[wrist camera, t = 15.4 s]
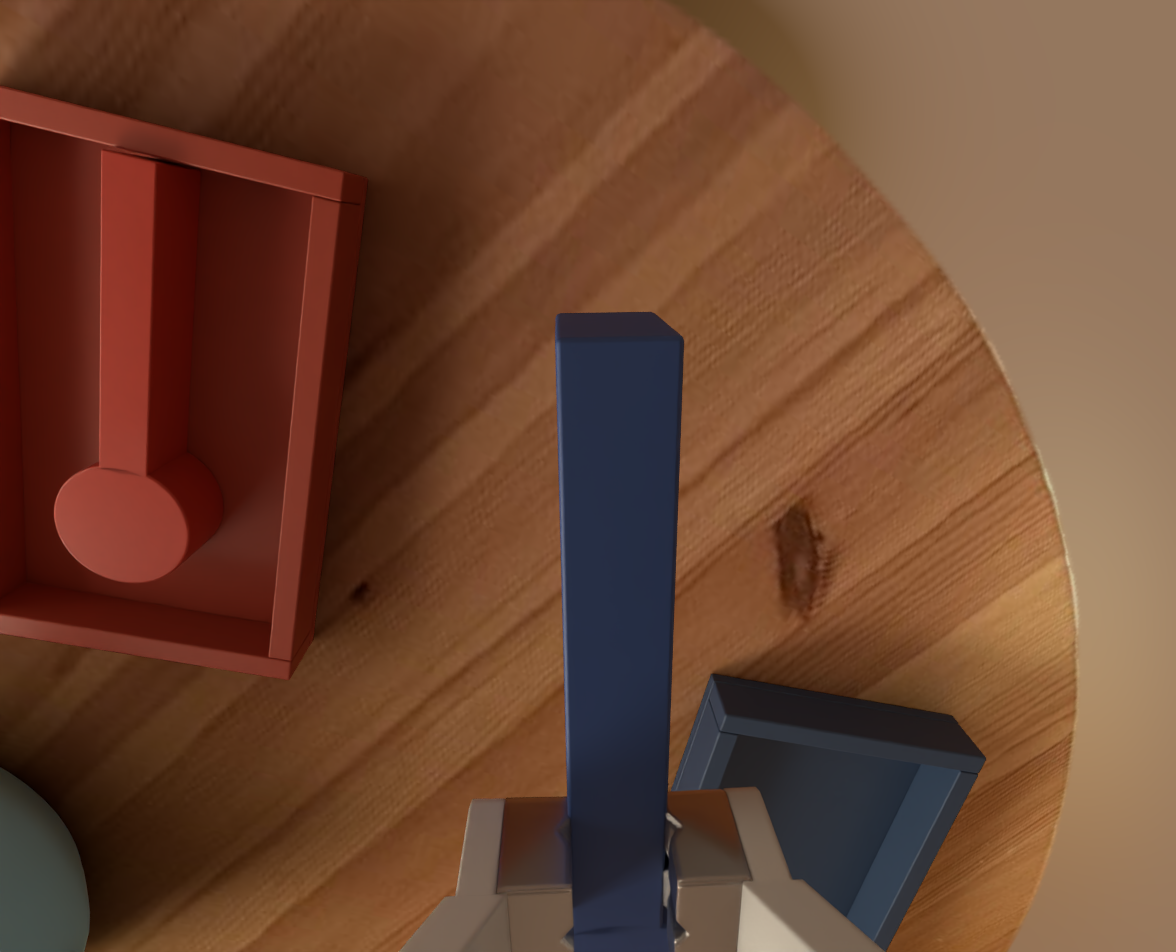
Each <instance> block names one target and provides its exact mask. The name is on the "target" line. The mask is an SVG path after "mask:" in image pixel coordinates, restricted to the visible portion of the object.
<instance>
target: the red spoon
mask: <svg viewBox="0 0 1176 952" xmlns="http://www.w3.org/2000/svg"><path fill="white" fill-rule="evenodd" d="M200 179H201V171H200V170H199V169H195V168H191V167H187V166H183V165H179V164H175V163H171V162H167V161H163V160H159V159H155V158H150V157H145V156H140V155H134V154H129V153H123V152H118V151H112V150H107V149H102V150H101V258H100V407H99V461H98V462H96V463H94V464H92V465H90V466H88V467H86V468H84V469H82V470H81V471H79V472H77V473H75V474H74V475H73V476H71V477H70V478H69V479H68V480H67V481H66V482H65V483H64V484H63V486H62V487H61V489H60V491H59V493H58V495H57V498H56V501H55V505H54V520H55V525H56V529H57V532H58V534H59V537H60V539H61V540H62V542H63V544H64V545H65V547H66V548H67V550H68V551H69V552H70V553H71V554H72V556H73V557H74V558H75V559H76V560H78V561H79V562H80V563H81V564H82V565H84V566H85V567H86V568H88V569H89V570H91V571H93V572H94V573H96V574H98V575H100V576H103V577H105V578H108V579H111V580H114V581H119V582H125V583H145V582H150V581H155V580H158V579H160V578H163V577H165V576H167V575H169V574H170V573H172V572H173V571H174V570H176V569H177V568H178V567H179V566H180V565H181V564H182V563H183V562H185V561H186V560H187V559H188V558H189V557H190V556H191V555H192V554H194V553H195V552H196V551H197V550H198V549H199V548H200V547H201V546H203V545H204V544H205V543H206V542H207V541H208V540H209V539H210V538H211V537H212V536H213V535H214V534H215V532H216V531H217V530H218V528H219V526H220V523H221V520H222V517H223V497H222V493H221V490H220V487H219V485H218V483H217V481H216V479H215V477H214V476H213V474H212V473H211V472H210V470H209V469H208V468H207V467H206V466H205V465H204V464H203V463H202V462H201V461H199V460H198V459H197V458H196V457H194V456H193V455H191V454H190V453H188V452H187V438H188V418H189V398H190V378H191V358H192V338H193V318H194V299H195V279H196V259H197V239H198V219H199V199H200Z"/></svg>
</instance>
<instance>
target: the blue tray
mask: <svg viewBox="0 0 1176 952" xmlns="http://www.w3.org/2000/svg"><path fill="white" fill-rule="evenodd" d="M985 761H986V757H985V756H984V755H983V753H982V752H981V751H980V750H979V748H978V747H977V746H976V745H975V744H974V742H973V741H972V740H971V739H970V737H969V736H968V735H967V734H966V733H965V731H964V730H963V729H962V728H961V727H960V725H958V722H957V721H956V720H955V719H954V717H953V716H951V715H946V714H940V713H934V712H929V711H923V710H917V709H911V708H906V707H900V706H894V705H889V704H883V703H877V702H871V701H866V700H860V699H854V698H848V697H843V696H837V695H831V694H826V693H820V692H814V691H808V690H803V689H797V688H791V687H785V686H780V685H774V684H768V683H762V682H757V681H751V680H745V679H740V678H734V677H728V676H722V675H717V674H711V676H710V679H709V682H708V685H707V688H706V690H705V693H704V696H703V699H702V702H701V705H700V708H699V711H698V714H697V717H696V720H695V722H694V725H693V728H692V731H691V734H690V737H689V740H688V743H687V746H686V749H685V751H684V754H683V757H682V760H681V763H680V766H679V769H678V772H677V775H676V778H675V780H674V783H673V786H672V789H671V791H687V790H705V789H722V790H723V789H724V788H740V787H756V788H757V789H758V790H759V791H760V793H761V796H762V798H763V801H764V804H765V806H766V809H767V812H768V815H769V817H770V820H771V823H772V825H773V828H774V831H775V834H776V836H777V839H778V842H779V845H780V847H781V850H782V853H783V855H784V858H785V861H786V864H787V866H788V869H789V872H790V874H791V877H792V880H794V879H803V880H804V881H805V882H806V883H807V884H808V885H810V886H811V887H812V888H813V889H814V890H815V891H816V892H818V893H819V894H820V895H821V896H822V897H823V898H824V899H826V900H827V901H828V902H829V903H830V904H831V905H832V906H834V907H835V908H836V909H837V910H838V911H839V912H840V913H841V914H843V915H844V916H845V917H846V918H847V919H848V920H849V921H851V922H852V923H853V924H854V925H855V926H856V927H857V928H859V929H860V930H861V931H862V932H863V933H864V934H865V935H867V936H868V937H869V938H870V939H871V940H872V941H873V942H875V943H876V944H877V945H878V946H879V947H880V948H881V949H883V950H884V951H885V952H886V950H887V948H888V946H889V945H890V943H891V941H892V939H893V937H894V935H895V933H896V931H897V929H898V927H899V925H900V924H901V922H902V920H903V918H904V916H905V914H906V912H907V910H908V908H909V906H910V904H911V903H912V901H913V899H914V897H915V895H916V893H917V891H918V889H919V887H920V885H921V883H922V882H923V880H924V878H925V876H926V874H927V872H928V870H929V868H930V866H931V864H932V862H933V861H934V859H935V857H936V855H937V853H938V851H939V849H940V847H941V845H942V843H943V841H944V840H945V838H946V836H947V834H948V832H949V830H950V828H951V826H952V824H953V822H954V820H955V819H956V817H957V815H958V813H959V811H960V809H961V807H962V805H963V803H964V801H965V799H966V798H967V796H968V794H969V792H970V790H971V788H972V786H973V784H974V782H975V780H976V778H977V777H978V774H977V773H979V772H980V770H981V768H982V766H983V764H984V763H985Z"/></svg>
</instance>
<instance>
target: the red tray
mask: <svg viewBox="0 0 1176 952" xmlns="http://www.w3.org/2000/svg"><path fill="white" fill-rule="evenodd" d="M102 149H107V150H112V151H118V152H123V153H129V154H134V155H140V156H145V157H150V158H155V159H159V160H163V161H167V162H171V163H175V164H179V165H183V166H187V167H191V168H195V169H199V170H200V171H201V179H200V199H199V219H198V239H197V259H196V279H195V299H194V318H193V338H192V358H191V378H190V398H189V418H188V438H187V452H188V453H190V454H191V455H193V456H194V457H196V458H197V459H198V460H199V461H201V462H202V463H203V464H204V465H205V466H206V467H207V468H208V469H209V470H210V472H211V473H212V474H213V476H214V477H215V479H216V481H217V483H218V485H219V487H220V490H221V493H222V497H223V517H222V520H221V523H220V526H219V528H218V530H217V531H216V532H215V534H214V535H213V536H212V537H211V538H210V539H209V540H208V541H207V542H206V543H205V544H204V545H203V546H201V547H200V548H199V549H198V550H197V551H196V552H195V553H194V554H192V555H191V556H190V557H189V558H188V559H187V560H186V561H185V562H183V563H182V564H181V565H180V566H179V567H178V568H177V569H176V570H174V571H173V572H172V573H170V574H169V575H167V576H165V577H163V578H160V579H158V580H155V581H150V582H145V583H125V582H119V581H114V580H111V579H108V578H105V577H103V576H100V575H98V574H96V573H94V572H93V571H91V570H89V569H88V568H86V567H85V566H84V565H82V564H81V563H80V562H79V561H78V560H76V559H75V558H74V557H73V556H72V554H71V553H70V552H69V551H68V550H67V548H66V547H65V545H64V544H63V542H62V540H61V539H60V537H59V534H58V532H57V529H56V525H55V520H54V505H55V501H56V498H57V495H58V493H59V491H60V489H61V487H62V486H63V484H64V483H65V482H66V481H67V480H68V479H69V478H70V477H71V476H73V475H74V474H75V473H77V472H79V471H81V470H82V469H84V468H86V467H88V466H90V465H92V464H94V463H96V462H98V461H99V407H100V258H101V150H102ZM367 185H368V178H366V177H363V176H359V175H356V174H352V173H349V172H346V171H342V170H338V169H334V168H330V167H326V166H322V165H318V164H314V163H310V162H306V161H302V160H298V159H294V158H290V157H286V156H282V155H278V154H274V153H270V152H266V151H262V150H258V149H254V148H250V147H246V146H242V145H238V144H234V143H230V142H226V141H222V140H218V139H214V138H210V137H206V136H202V135H198V134H194V133H190V132H186V131H182V130H178V129H174V128H170V127H166V126H162V125H158V124H154V123H150V122H146V121H142V120H138V119H134V118H130V117H126V116H122V115H118V114H114V113H110V112H105V111H101V110H97V109H93V108H89V107H85V106H81V105H77V104H73V103H69V102H65V101H61V100H57V99H53V98H49V97H45V96H41V95H37V94H33V93H29V92H25V91H21V90H17V89H13V88H9V87H5V86H1V85H0V634H6V635H12V636H18V637H24V638H30V639H37V640H43V641H49V642H55V643H61V644H68V645H74V646H80V647H86V648H93V649H99V650H105V651H111V652H117V653H124V654H130V655H136V656H142V657H148V658H155V659H161V660H167V661H173V662H179V663H186V664H192V665H198V666H204V667H211V668H217V669H223V670H229V671H235V672H242V673H248V674H254V675H260V676H266V677H273V678H279V679H285V680H289V679H290V678H291V676H292V675H293V673H294V671H295V670H296V668H297V666H298V665H299V663H300V661H301V660H302V658H303V656H304V655H305V653H306V651H307V649H308V648H309V646H310V645H311V643H312V641H313V638H314V629H315V621H316V612H317V604H318V596H319V587H320V579H321V570H322V562H323V554H324V545H325V537H326V529H327V520H328V512H329V503H330V495H331V487H332V478H333V470H334V461H335V453H336V445H337V436H338V428H339V420H340V411H341V403H342V394H343V386H344V378H345V369H346V361H347V352H348V344H349V336H350V327H351V319H352V311H353V302H354V294H355V285H356V277H357V269H358V260H359V252H360V243H361V235H362V227H363V218H364V210H365V201H366V193H367Z"/></svg>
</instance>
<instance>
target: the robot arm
mask: <svg viewBox="0 0 1176 952" xmlns="http://www.w3.org/2000/svg"><path fill="white" fill-rule="evenodd" d="M663 848H664V850H665V867H664V870H663V884H662V904H663V905H664V906H665V907H666V909H667V938H668V944H669V951H670V952H885V951H884V950H883V949H881V948H880V947H879V946H878V945H877V944H876V943H875V942H873V941H872V940H871V939H870V938H869V937H868V936H867V935H865V934H864V933H863V932H862V931H861V930H860V929H859V928H857V927H856V926H855V925H854V924H853V923H852V922H851V921H849V920H848V919H847V918H846V917H845V916H844V915H843V914H841V913H840V912H839V911H838V910H837V909H836V908H835V907H834V906H832V905H831V904H830V903H829V902H828V901H827V900H826V899H824V898H823V897H822V896H821V895H820V894H819V893H818V892H816V891H815V890H814V889H813V888H812V887H811V886H810V885H808V884H807V883H806V882H805V881H804V880H803V879H794V880H792V877H791V874H790V872H789V869H788V866H787V864H786V861H785V858H784V855H783V853H782V850H781V847H780V845H779V842H778V839H777V836H776V834H775V831H774V828H773V825H772V823H771V820H770V817H769V815H768V812H767V809H766V806H765V804H764V801H763V798H762V796H761V793H760V791H759V790H758V789H757V788H756V787H740V788H724V789H723V790H722V789H705V790H687V791H669V792H668V794H667V811H666V813H665V822H664V847H663ZM399 952H574V911H573V877H572V844H571V818H570V817H569V816H568V804H567V797H516V798H506V799H472V802H471V804H470V807H469V811H468V818H467V824H466V831H465V837H464V843H463V850H462V856H461V863H460V869H459V876H458V882H457V889H456V895H455V896H449V897H445V898H444V899H443V900H442V901H441V902H440V903H439V905H438V906H437V907H436V908H435V909H434V911H433V912H432V913H431V914H430V915H429V917H428V918H427V919H426V920H425V921H424V922H423V924H422V925H421V926H420V927H419V928H418V930H417V931H416V932H415V933H414V934H413V935H412V937H411V938H410V939H409V940H408V941H407V943H406V944H405V945H404V946H403V947H402V949H401V950H400V951H399Z"/></svg>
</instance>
